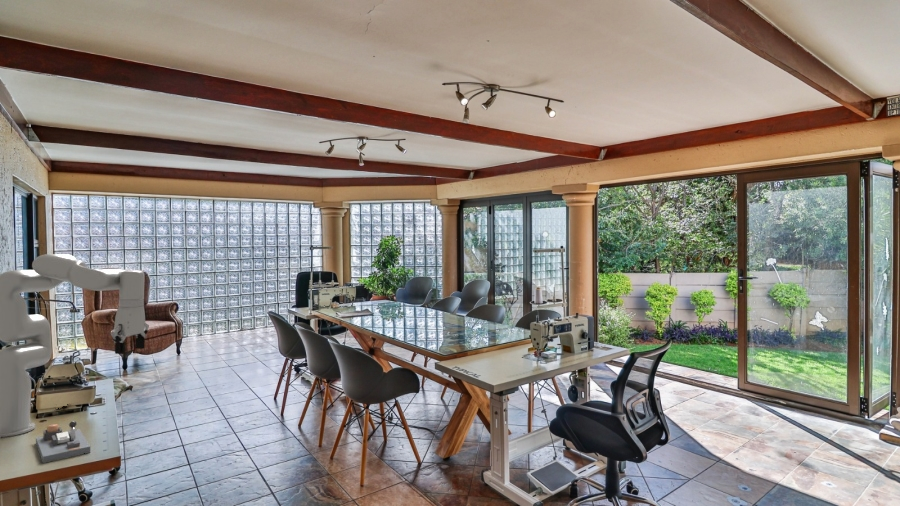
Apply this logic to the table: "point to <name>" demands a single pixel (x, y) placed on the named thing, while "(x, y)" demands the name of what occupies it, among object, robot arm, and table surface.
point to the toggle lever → (73, 429)
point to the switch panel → (61, 446)
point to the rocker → (62, 437)
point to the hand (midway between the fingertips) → (130, 351)
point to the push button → (52, 428)
